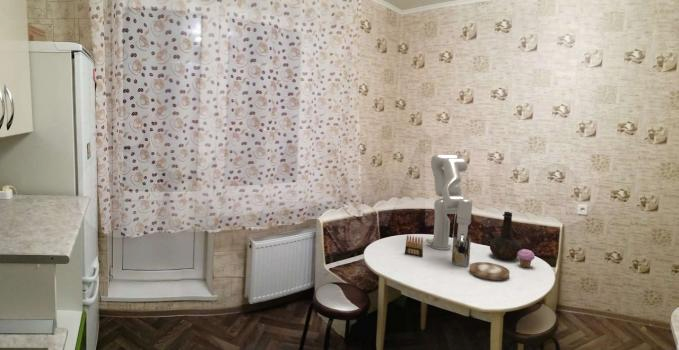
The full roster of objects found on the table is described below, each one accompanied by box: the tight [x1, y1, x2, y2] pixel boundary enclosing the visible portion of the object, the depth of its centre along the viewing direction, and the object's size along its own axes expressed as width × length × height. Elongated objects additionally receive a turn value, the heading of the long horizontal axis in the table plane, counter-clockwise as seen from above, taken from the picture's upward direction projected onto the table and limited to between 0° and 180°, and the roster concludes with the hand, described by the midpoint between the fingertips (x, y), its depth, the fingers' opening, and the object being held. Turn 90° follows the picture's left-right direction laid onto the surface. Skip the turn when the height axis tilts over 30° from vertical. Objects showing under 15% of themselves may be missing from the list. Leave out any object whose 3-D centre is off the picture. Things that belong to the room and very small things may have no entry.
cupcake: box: [517, 248, 535, 269], centre depth 227 cm, size 9×9×10 cm
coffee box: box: [451, 234, 472, 268], centre depth 227 cm, size 9×6×16 cm
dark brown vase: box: [489, 211, 523, 261], centre depth 240 cm, size 18×18×28 cm
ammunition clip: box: [404, 234, 424, 258], centre depth 239 cm, size 11×2×12 cm, turn 60°
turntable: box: [469, 261, 511, 281], centre depth 214 cm, size 20×20×2 cm
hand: (461, 250), depth 227 cm, fingers closed on coffee box, 7 cm apart
